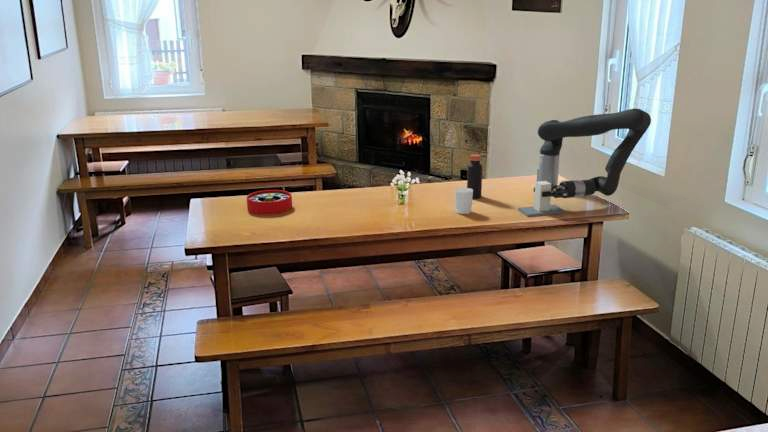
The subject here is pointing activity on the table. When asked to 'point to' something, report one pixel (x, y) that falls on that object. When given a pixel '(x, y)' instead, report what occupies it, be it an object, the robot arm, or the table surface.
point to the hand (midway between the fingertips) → (538, 192)
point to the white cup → (463, 200)
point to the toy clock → (269, 202)
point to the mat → (533, 212)
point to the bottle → (475, 175)
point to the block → (540, 201)
